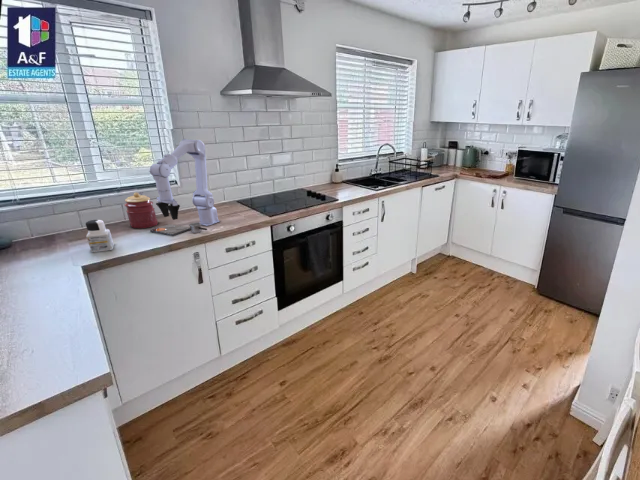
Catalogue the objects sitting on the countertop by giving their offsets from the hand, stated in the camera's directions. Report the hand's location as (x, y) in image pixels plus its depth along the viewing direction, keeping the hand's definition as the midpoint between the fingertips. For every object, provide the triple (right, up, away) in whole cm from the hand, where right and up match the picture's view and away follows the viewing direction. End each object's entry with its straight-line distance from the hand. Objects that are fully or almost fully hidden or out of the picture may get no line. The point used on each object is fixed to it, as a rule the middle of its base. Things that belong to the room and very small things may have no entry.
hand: (170, 217), depth 182 cm
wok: (+9, -6, +11) cm, 15 cm away
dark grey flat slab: (-7, -5, +12) cm, 14 cm away
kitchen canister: (-25, -1, +18) cm, 31 cm away
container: (-23, -17, -13) cm, 32 cm away
